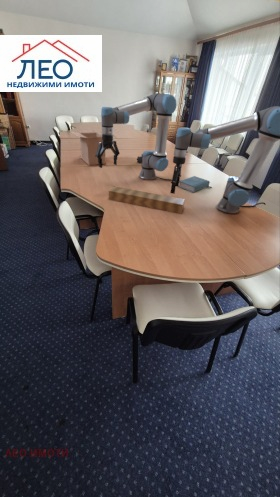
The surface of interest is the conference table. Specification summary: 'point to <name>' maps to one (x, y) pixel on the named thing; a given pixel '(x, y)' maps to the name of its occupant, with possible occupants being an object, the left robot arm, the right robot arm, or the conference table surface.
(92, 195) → the conference table surface
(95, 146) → the box
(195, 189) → the book
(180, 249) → the conference table surface
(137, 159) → the laser sight
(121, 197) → the wide beam
